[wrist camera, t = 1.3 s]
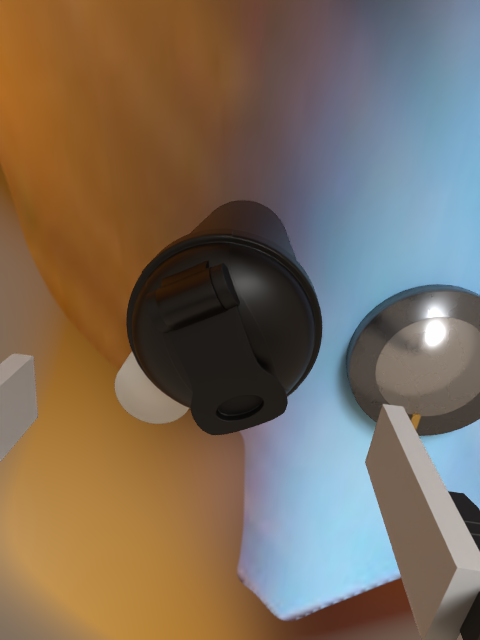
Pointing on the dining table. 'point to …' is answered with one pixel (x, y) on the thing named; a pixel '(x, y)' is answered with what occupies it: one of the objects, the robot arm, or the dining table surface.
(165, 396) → the white rounded capsule
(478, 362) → the grey plate
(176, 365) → the water bottle
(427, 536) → the robot arm
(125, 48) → the dining table surface
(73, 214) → the dining table surface
